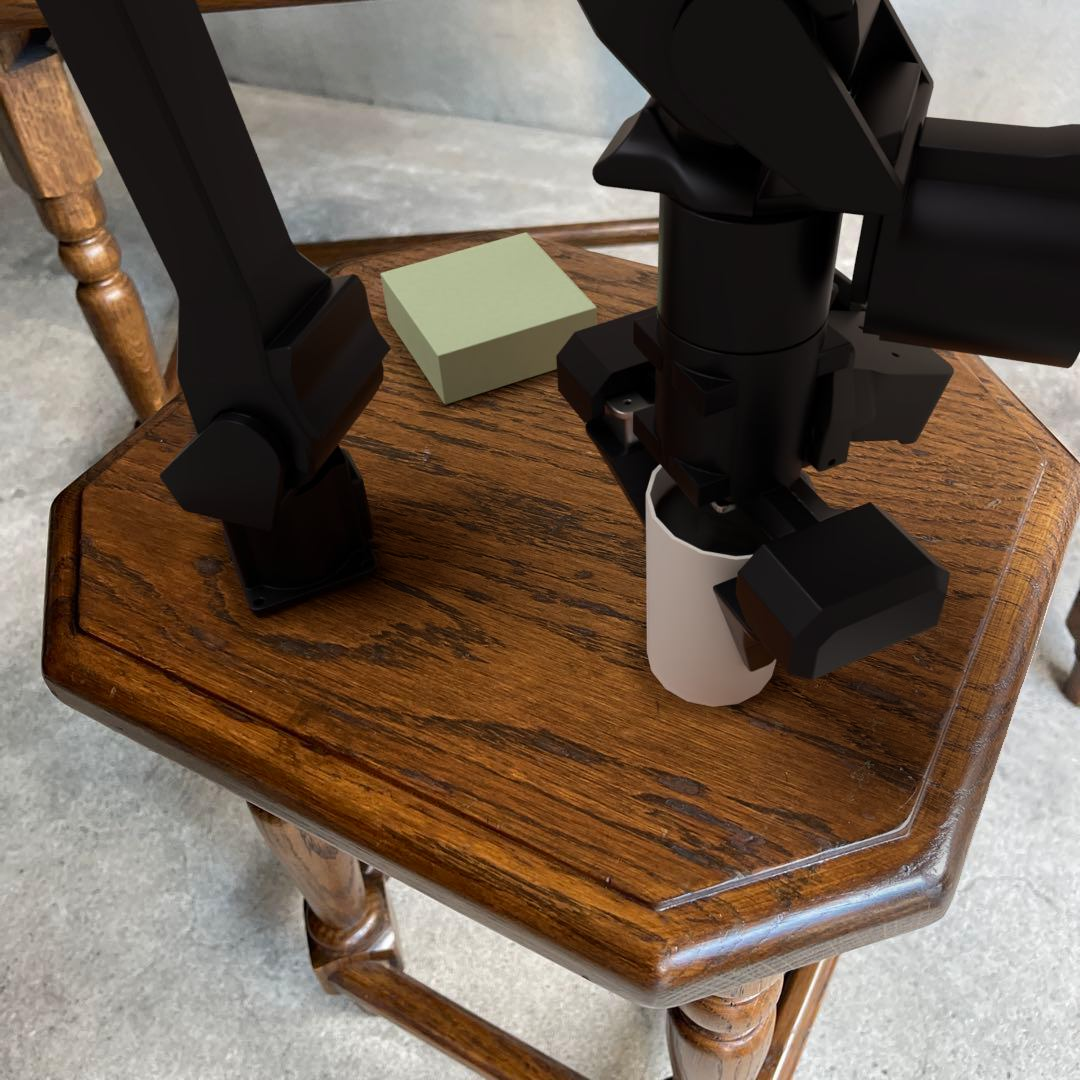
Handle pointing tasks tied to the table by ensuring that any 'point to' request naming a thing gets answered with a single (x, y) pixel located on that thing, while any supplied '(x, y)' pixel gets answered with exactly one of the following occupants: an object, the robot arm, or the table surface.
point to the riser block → (485, 315)
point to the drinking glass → (696, 595)
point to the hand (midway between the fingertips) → (716, 611)
